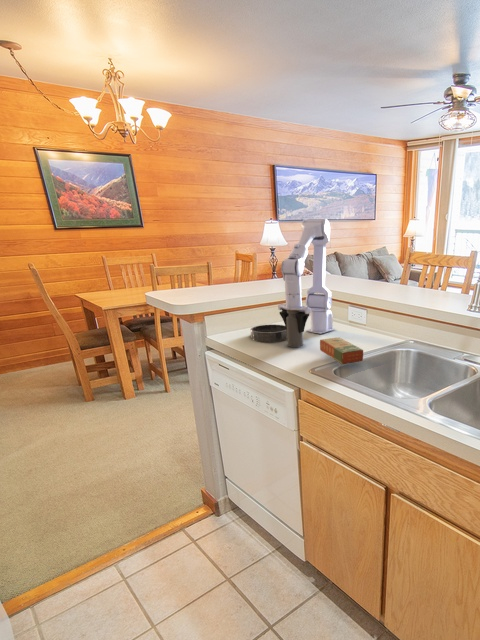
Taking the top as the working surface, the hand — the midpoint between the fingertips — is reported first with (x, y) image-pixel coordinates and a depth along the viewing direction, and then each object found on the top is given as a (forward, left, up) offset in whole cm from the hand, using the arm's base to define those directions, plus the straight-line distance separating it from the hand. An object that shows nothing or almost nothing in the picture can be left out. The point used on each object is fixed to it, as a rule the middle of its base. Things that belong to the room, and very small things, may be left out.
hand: (295, 331), depth 153 cm
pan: (-2, -16, -6) cm, 17 cm away
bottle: (0, 0, -6) cm, 6 cm away
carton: (+2, +23, -5) cm, 24 cm away
